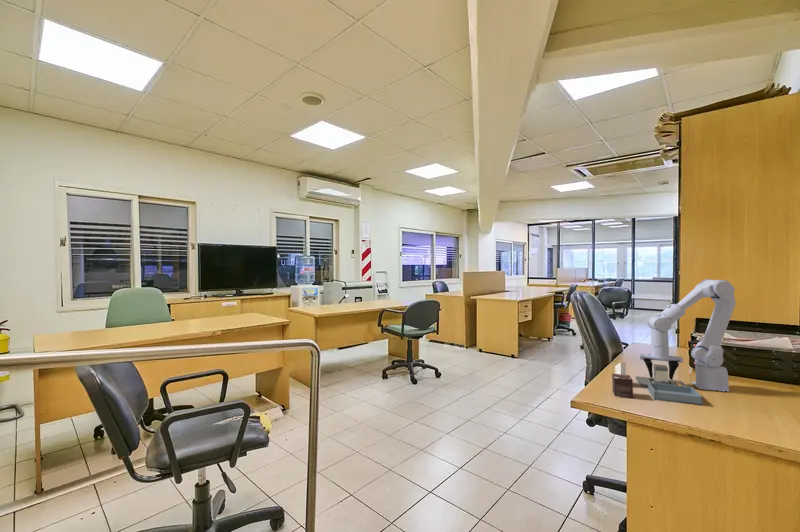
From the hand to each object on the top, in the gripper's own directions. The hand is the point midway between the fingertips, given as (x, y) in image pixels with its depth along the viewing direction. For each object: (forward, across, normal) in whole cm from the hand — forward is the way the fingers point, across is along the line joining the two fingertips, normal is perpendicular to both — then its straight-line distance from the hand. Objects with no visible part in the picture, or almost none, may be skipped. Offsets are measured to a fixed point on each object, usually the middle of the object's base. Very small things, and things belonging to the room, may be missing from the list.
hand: (660, 377), depth 140 cm
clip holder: (+3, 0, 0) cm, 3 cm away
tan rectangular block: (+3, 0, 0) cm, 3 cm away
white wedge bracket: (+3, +14, +4) cm, 15 cm away
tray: (+3, -1, +14) cm, 14 cm away
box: (+3, +16, +18) cm, 25 cm away
